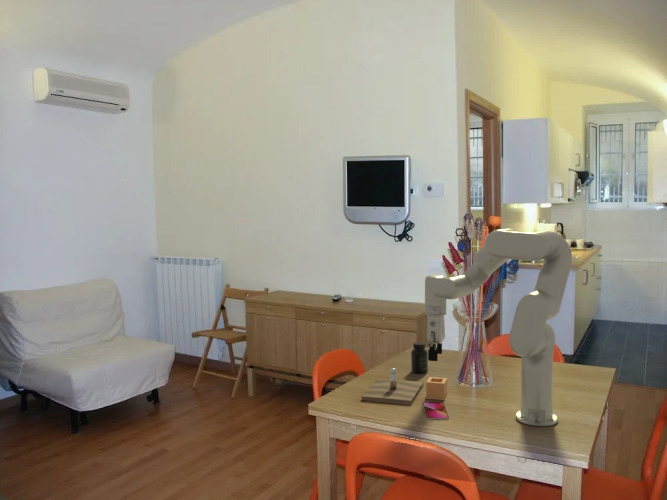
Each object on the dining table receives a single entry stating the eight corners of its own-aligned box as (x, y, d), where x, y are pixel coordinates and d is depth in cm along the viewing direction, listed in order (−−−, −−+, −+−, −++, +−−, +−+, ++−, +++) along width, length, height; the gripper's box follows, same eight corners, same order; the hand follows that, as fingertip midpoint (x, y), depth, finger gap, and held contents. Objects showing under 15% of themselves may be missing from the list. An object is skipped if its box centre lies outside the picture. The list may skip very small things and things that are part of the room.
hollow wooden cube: (444, 400, 209) (444, 383, 208) (426, 398, 211) (426, 382, 210) (447, 394, 215) (447, 378, 214) (429, 393, 217) (429, 377, 216)
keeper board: (411, 404, 205) (411, 400, 205) (361, 400, 211) (361, 396, 211) (423, 385, 225) (423, 381, 225) (377, 382, 231) (377, 378, 231)
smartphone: (426, 418, 191) (422, 401, 206) (426, 421, 191) (422, 404, 206) (449, 418, 190) (443, 401, 205) (449, 421, 190) (443, 404, 205)
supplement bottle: (408, 370, 246) (407, 342, 245) (422, 368, 248) (421, 340, 248) (417, 375, 239) (416, 346, 238) (431, 372, 242) (430, 343, 241)
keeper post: (396, 390, 216) (395, 369, 216) (389, 389, 217) (388, 368, 217) (397, 388, 219) (397, 367, 218) (390, 387, 220) (390, 366, 219)
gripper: (442, 315, 201) (441, 364, 203) (449, 306, 217) (449, 351, 219) (420, 314, 203) (420, 362, 205) (429, 305, 220) (429, 350, 221)
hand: (435, 357), depth 212 cm, fingers open, 9 cm apart
